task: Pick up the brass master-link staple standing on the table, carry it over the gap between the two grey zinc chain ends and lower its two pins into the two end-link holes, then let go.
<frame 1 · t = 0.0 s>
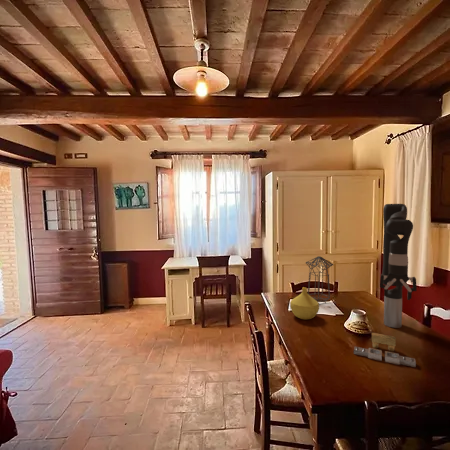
hand: (397, 298, 130), 29 cm above the table, fingers open, 8 cm apart
vase: (304, 317, 185), on the table
master link: (383, 348, 143), on the table
chain ends: (383, 358, 133), on the table
geometric lantern: (318, 302, 213), on the table
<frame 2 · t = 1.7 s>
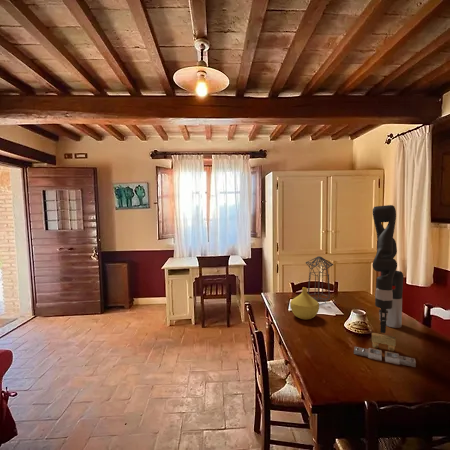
hand: (382, 329, 142), 10 cm above the table, fingers open, 8 cm apart
nothing on the table moved.
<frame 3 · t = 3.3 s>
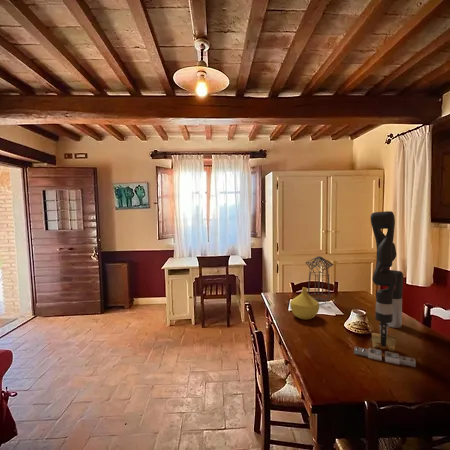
hand: (383, 344, 143), 2 cm above the table, fingers closed on master link, 3 cm apart
master link: (383, 348, 143), on the table, touching gripper
everything else where it was.
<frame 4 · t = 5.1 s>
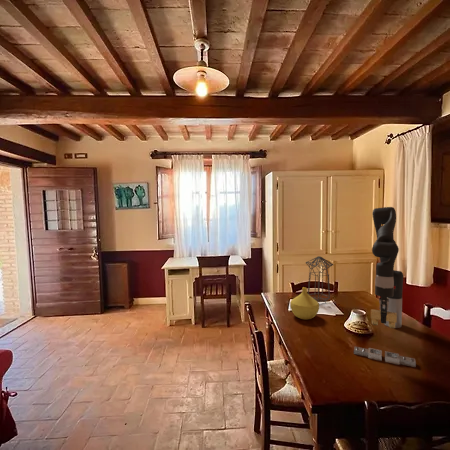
hand: (383, 321, 132), 18 cm above the table, fingers closed on master link, 3 cm apart
master link: (383, 325, 132), point 16 cm above the table, touching gripper
everything else where it was.
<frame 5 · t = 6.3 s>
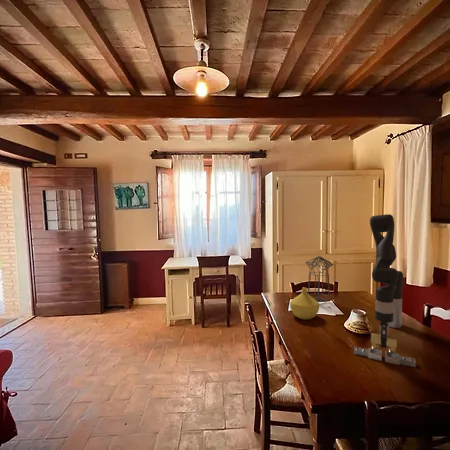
hand: (383, 345, 133), 6 cm above the table, fingers closed on master link, 3 cm apart
master link: (383, 349, 133), point 4 cm above the table, touching gripper
everything else where it was.
when the fingers open (3 cm above the table, at t = 7.1 s): master link drops 1 cm, on the table.
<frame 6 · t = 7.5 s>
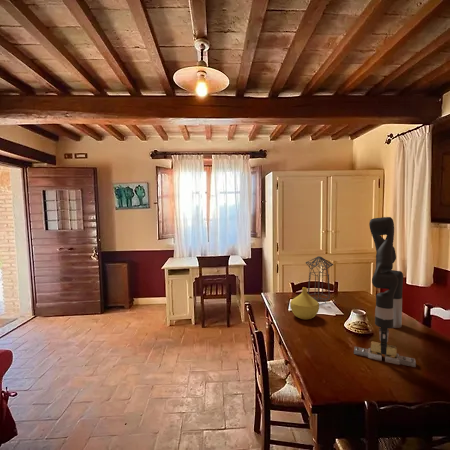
hand: (383, 350, 133), 4 cm above the table, fingers open, 6 cm apart
master link: (383, 358, 133), on the table
everything else where it was.
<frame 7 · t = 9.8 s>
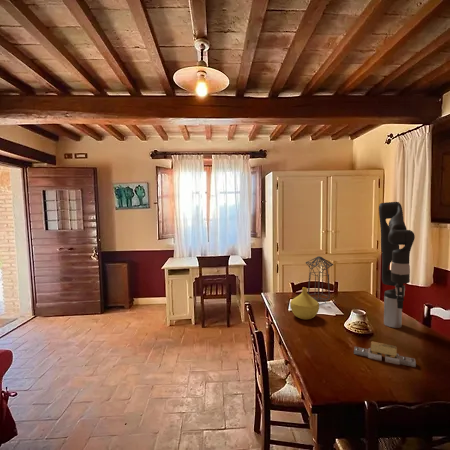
hand: (399, 305, 135), 24 cm above the table, fingers open, 8 cm apart
nothing on the table moved.
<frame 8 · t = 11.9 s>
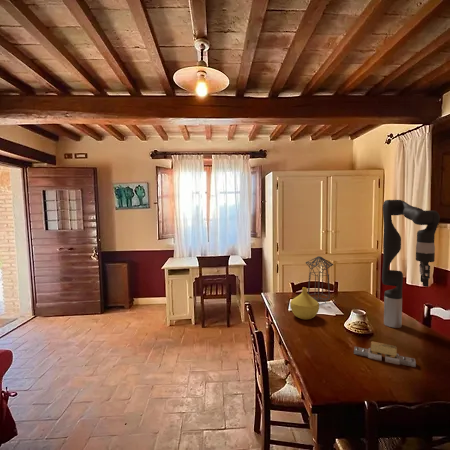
hand: (424, 284, 139), 33 cm above the table, fingers open, 8 cm apart
nothing on the table moved.
at the end: master link 0.2 cm off-centre on the chain ends, point 0.0 cm above the chain ends's base; master link tilted 0°; the gripper is holding nothing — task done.
